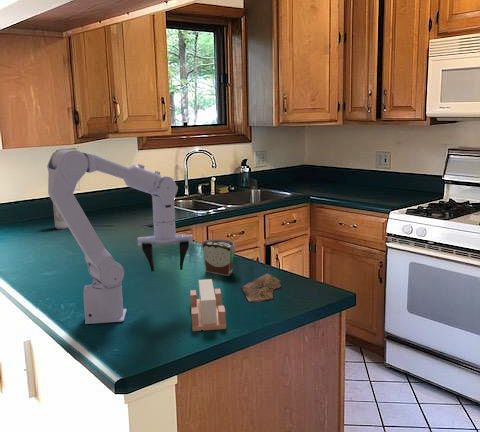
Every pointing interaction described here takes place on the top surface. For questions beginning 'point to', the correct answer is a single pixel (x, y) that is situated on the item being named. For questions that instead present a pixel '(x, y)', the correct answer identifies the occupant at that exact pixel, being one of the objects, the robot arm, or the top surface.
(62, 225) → the energy drink can
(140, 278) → the top surface
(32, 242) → the top surface
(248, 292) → the wooden fragment
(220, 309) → the rack
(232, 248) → the food container
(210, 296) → the strip
